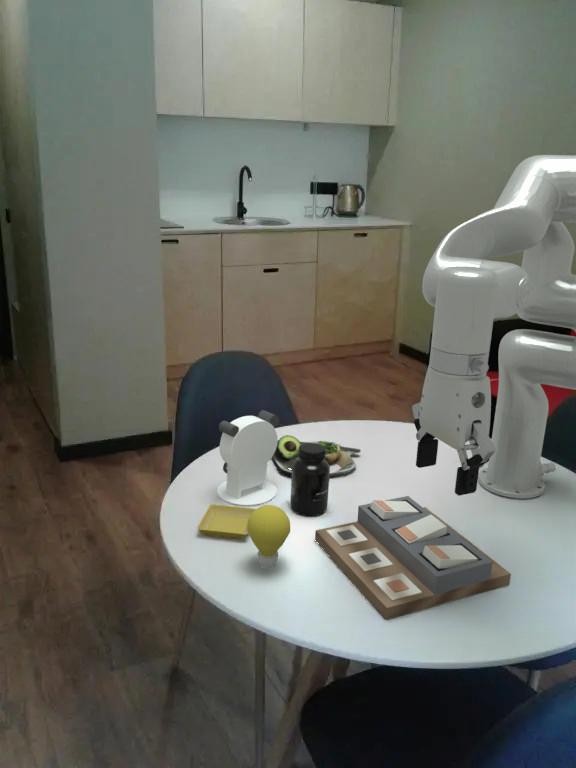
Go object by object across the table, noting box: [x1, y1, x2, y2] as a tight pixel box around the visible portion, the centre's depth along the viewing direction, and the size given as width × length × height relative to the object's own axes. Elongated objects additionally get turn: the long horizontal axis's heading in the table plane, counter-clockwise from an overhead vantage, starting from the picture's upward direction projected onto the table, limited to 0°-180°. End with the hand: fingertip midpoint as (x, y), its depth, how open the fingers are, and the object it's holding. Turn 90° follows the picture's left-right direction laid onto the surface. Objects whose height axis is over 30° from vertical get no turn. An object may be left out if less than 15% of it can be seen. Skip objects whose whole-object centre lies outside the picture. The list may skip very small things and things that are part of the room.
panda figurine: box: [216, 409, 280, 507], centre depth 126 cm, size 12×11×15 cm
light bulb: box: [247, 504, 291, 570], centre depth 103 cm, size 7×7×10 cm
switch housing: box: [356, 495, 492, 595], centre depth 107 cm, size 10×22×3 cm, turn 24°
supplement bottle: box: [289, 443, 331, 517], centre depth 121 cm, size 7×7×12 cm
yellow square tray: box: [196, 503, 257, 540], centre depth 115 cm, size 9×9×2 cm
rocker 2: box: [395, 515, 447, 545], centre depth 106 cm, size 7×4×2 cm, turn 114°
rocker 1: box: [371, 499, 419, 519], centre depth 113 cm, size 7×4×2 cm, turn 114°
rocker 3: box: [423, 545, 478, 569], centre depth 100 cm, size 7×4×2 cm, turn 114°
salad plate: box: [272, 434, 362, 478], centre depth 142 cm, size 19×18×5 cm
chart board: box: [314, 506, 512, 621], centre depth 107 cm, size 22×22×2 cm
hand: (444, 478), depth 95 cm, fingers open, 8 cm apart
